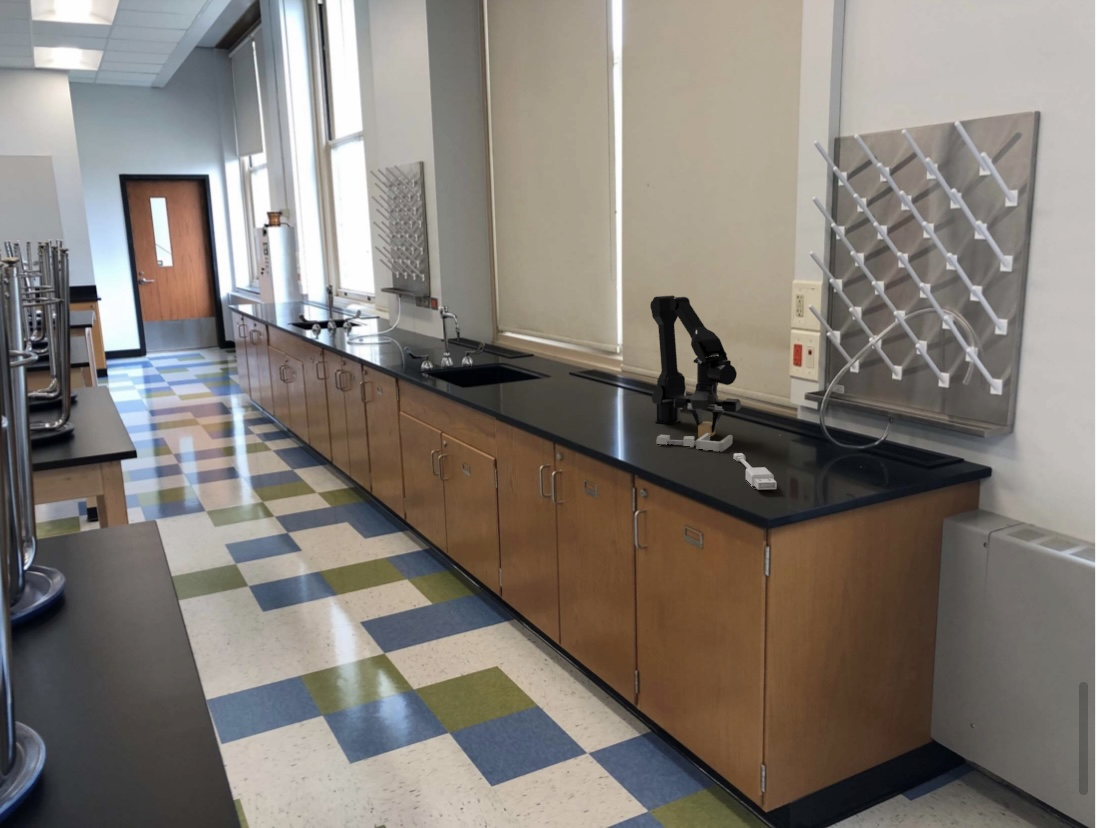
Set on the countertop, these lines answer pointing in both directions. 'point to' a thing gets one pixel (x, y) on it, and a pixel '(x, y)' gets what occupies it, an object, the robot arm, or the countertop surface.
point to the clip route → (666, 440)
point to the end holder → (713, 443)
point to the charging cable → (757, 475)
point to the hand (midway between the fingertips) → (706, 432)
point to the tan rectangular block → (705, 429)
